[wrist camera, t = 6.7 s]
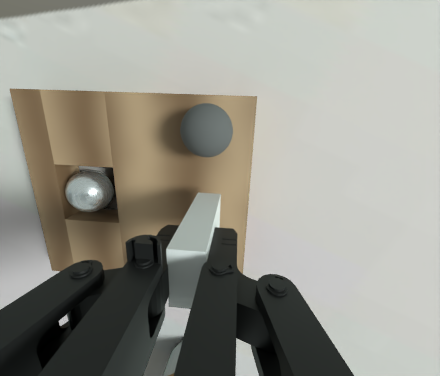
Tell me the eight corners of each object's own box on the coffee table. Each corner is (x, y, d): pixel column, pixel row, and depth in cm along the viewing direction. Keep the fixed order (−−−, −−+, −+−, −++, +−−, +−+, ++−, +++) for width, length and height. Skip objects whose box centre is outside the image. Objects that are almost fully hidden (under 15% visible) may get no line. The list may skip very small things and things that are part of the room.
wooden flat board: (72, 254, 22) (52, 270, 20) (40, 92, 18) (9, 88, 15) (241, 267, 21) (241, 286, 19) (254, 99, 16) (256, 96, 14)
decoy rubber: (187, 152, 16) (174, 160, 12) (186, 104, 15) (173, 100, 12) (232, 154, 15) (230, 163, 12) (234, 105, 14) (233, 102, 11)
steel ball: (72, 205, 19) (65, 222, 16) (65, 167, 18) (57, 178, 15) (115, 200, 21) (116, 215, 18) (111, 165, 20) (111, 174, 17)
